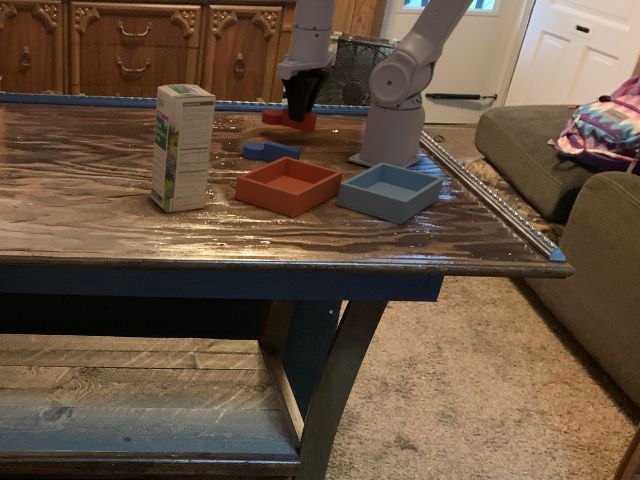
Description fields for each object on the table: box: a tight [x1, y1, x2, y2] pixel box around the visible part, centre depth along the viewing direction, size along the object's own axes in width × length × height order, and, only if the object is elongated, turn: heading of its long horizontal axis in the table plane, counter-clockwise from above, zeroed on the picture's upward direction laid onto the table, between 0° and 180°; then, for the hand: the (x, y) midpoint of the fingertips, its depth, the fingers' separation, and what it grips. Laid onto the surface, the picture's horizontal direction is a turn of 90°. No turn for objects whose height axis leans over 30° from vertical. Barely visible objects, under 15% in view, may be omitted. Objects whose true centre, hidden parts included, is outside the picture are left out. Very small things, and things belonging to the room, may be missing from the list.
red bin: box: [234, 156, 344, 218], centre depth 103 cm, size 12×9×3 cm
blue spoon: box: [241, 140, 302, 163], centre depth 115 cm, size 9×4×3 cm, turn 49°
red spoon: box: [261, 107, 318, 133], centre depth 123 cm, size 9×4×3 cm, turn 49°
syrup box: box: [150, 83, 217, 213], centre depth 96 cm, size 6×6×14 cm
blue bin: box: [336, 162, 445, 225], centre depth 102 cm, size 12×9×3 cm
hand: (298, 119), depth 122 cm, fingers closed on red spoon
